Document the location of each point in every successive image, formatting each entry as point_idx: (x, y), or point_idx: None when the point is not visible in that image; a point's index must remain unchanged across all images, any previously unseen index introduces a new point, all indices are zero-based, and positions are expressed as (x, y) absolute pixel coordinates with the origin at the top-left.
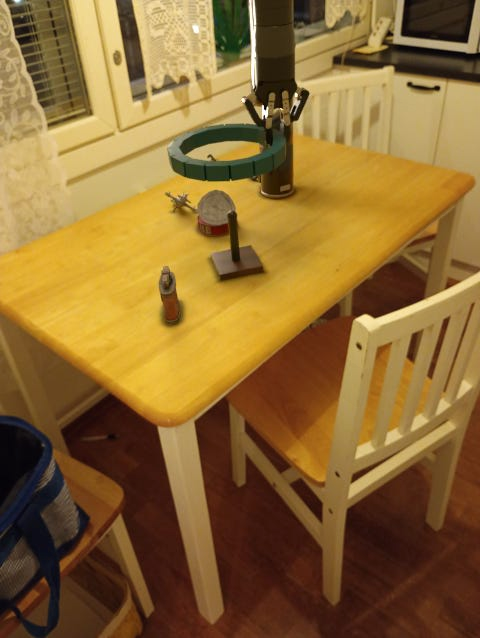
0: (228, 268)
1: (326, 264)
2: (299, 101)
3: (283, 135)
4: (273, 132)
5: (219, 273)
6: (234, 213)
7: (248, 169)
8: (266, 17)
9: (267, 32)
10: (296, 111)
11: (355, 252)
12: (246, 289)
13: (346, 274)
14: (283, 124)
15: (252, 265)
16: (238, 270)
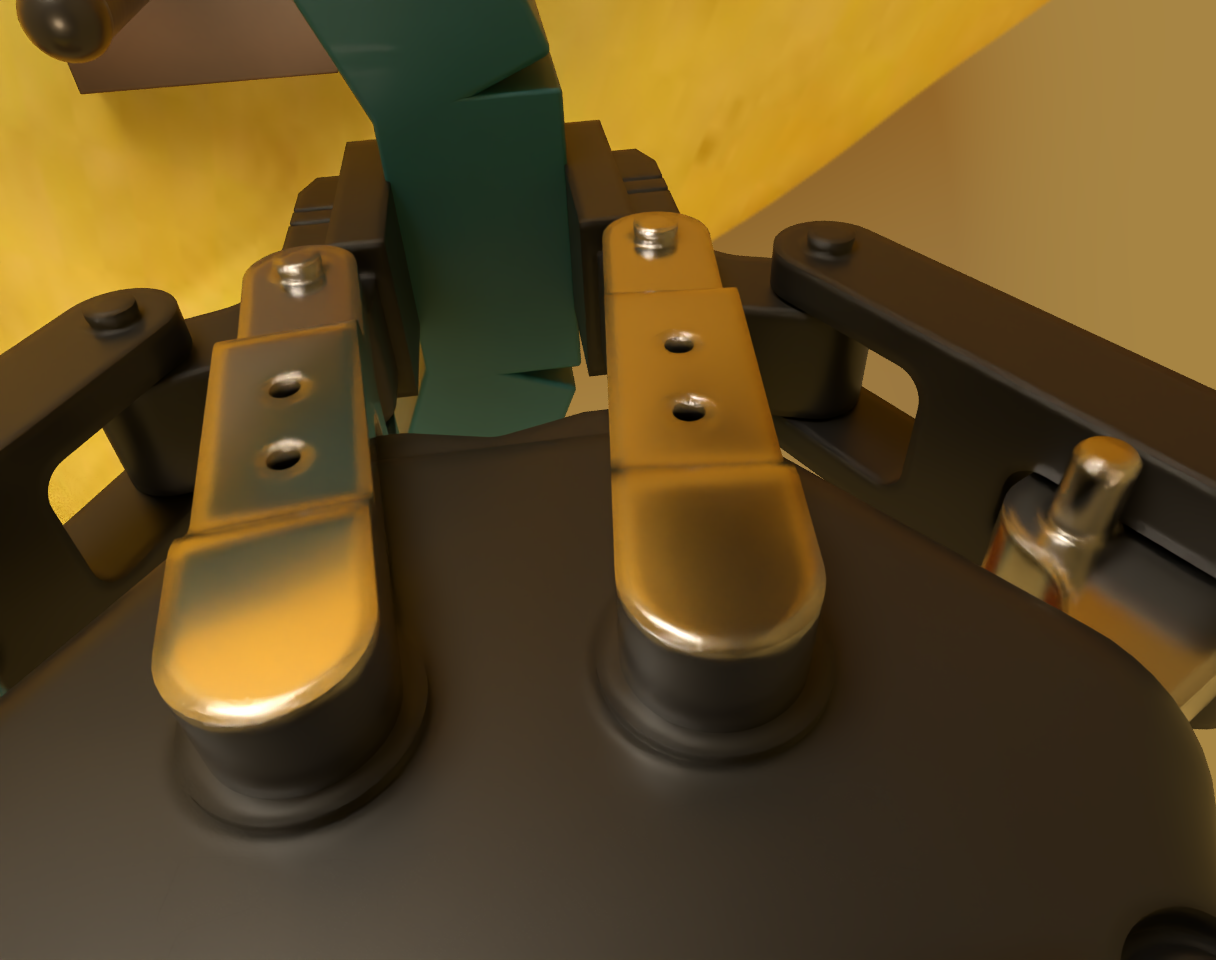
0: (126, 39)
1: (679, 82)
2: (979, 561)
3: (570, 307)
4: (458, 140)
5: (76, 81)
6: (84, 52)
7: None
8: None
9: None
10: (842, 488)
11: (865, 7)
12: (248, 195)
13: (728, 193)
14: (602, 341)
15: (276, 48)
16: (192, 81)
